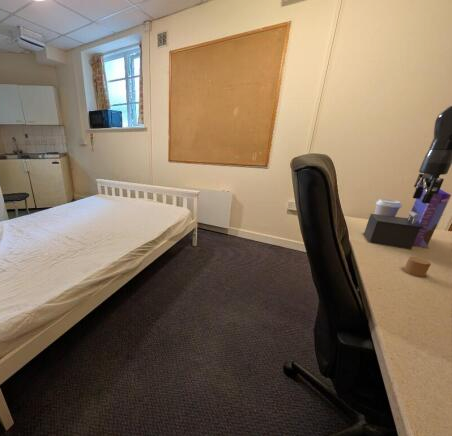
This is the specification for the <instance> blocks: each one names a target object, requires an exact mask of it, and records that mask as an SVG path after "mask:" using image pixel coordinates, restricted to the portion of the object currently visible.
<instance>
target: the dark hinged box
mask: <svg viewBox="0 0 452 436" xmlns="http://www.w3.org/2000/svg"><path fill="white" fill-rule="evenodd" d="M419 230H420V228H413V227H406V226H398V225H391V224H384V223H377V222H376V221H375V220H374V219H373V217H372V216H371V214H370V215H369V218H368V221H367V223H366V226H365V228H364V231H363V234H364V236H365V238H366V240H367V241H368V242H369V243H372V244H376V245H377V244H378V245H382V246H389V247H394V248H399V249H405V250H412V248H413V246H414V245H413V244H414V241H415V239H416V237H417V235H418V232H419Z"/></svg>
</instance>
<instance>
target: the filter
mask: <svg viewBox="0 0 452 436" xmlns="http://www.w3.org/2000/svg"><path fill="white" fill-rule="evenodd" d="M431 264H432V261H429V260H428V259H425V258H422V257H418V256H409V257H408V259H407V260H406V263H405V266H404V268H403V271H404V272H406V273H407V274H410V275H413V276H416V277H426V275H427V273H428V271H429V269H430V267H431Z"/></svg>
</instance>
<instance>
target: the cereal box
mask: <svg viewBox="0 0 452 436" xmlns="http://www.w3.org/2000/svg"><path fill="white" fill-rule="evenodd" d="M424 194H425V189H424V190H423V193H422V196H421V198H420V199H415V201H414V203H413V206H412V208H411V211H414V212H415V213H417V214H418V215H420V217H419V218H417V220H416V222H417V223H419V224H420V225H421V226H423V227H424V228H423V229H420V230H419V232H418V235H417V237H416V239H415V241H414V244H413V246H414V247H420V248H425V249H427V248H428V245H429V244H430V241H431V239H432V237H433V235H434V233H435V230H436V229H437V227H438V224H439V222H440V220H441V218H442V216H443V213H444V212H445V209H446V207H447V205H448V203H449V200H450V199H451V197H452V194H450V193H448V192H446V191H445V190H443V189H441V188H440V190H439V192H438V194H434V195H433V196H432V199H431V201H430V203H422V202H421V201H422V199H423V196H424ZM411 211H410V212H411ZM409 217H410V214H408V218H409ZM412 219H414V217H412Z"/></svg>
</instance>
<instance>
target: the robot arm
mask: <svg viewBox="0 0 452 436" xmlns="http://www.w3.org/2000/svg"><path fill="white" fill-rule="evenodd" d="M451 166H452V105H450V106H447V107H445V108H444V109H442V110H441V111H440V112H439V113H438V115H437V116H436V119H435V121H434V127H433V138H432V141H431V142H430V146H429V147H428V150H427V151H426V153H425V155H424V157H423V160H422V162H421V165H420V167H419V170H418V172H419V174H418V176H417V179H416V180H415V183H414V185H413V188H414V193H413V195H412V198H413V199H415V200H416V199H420V198H421V196H422V193H423V190H424V189H425V194H424V196H423V199H422V201H421V202H422V203H430V201H431V199H432V196H433V195H434V194H438V192H439V190H440V189H441V187H442V185H443V182H444V178H440V176H442V175H445V176H446V175H447V174H448V172H449V170H450V168H451Z"/></svg>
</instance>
